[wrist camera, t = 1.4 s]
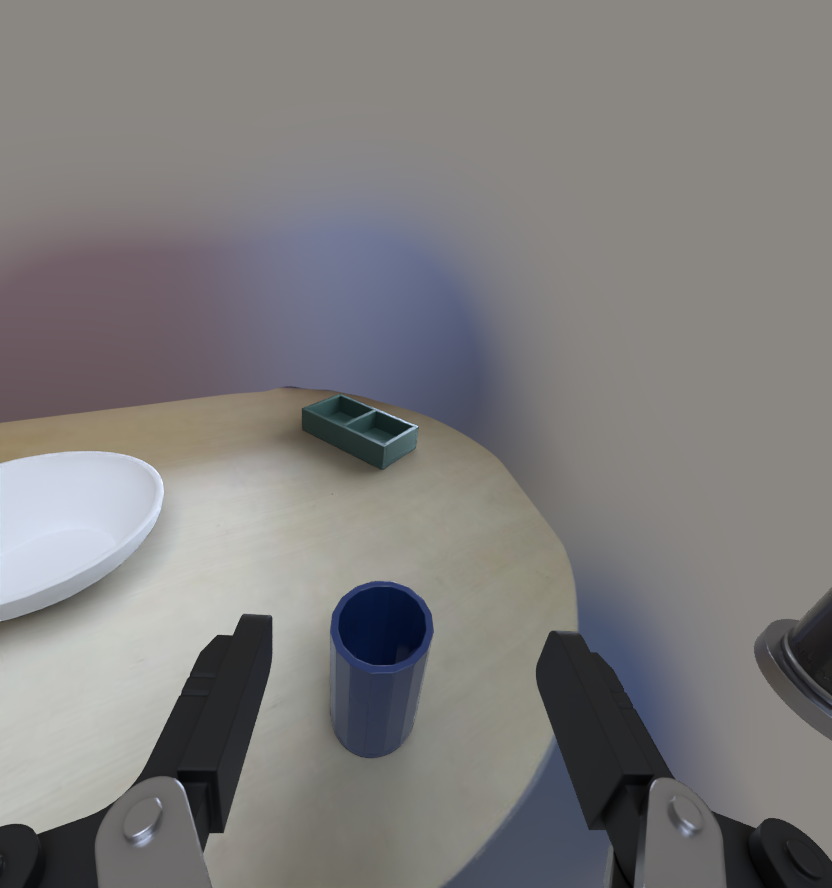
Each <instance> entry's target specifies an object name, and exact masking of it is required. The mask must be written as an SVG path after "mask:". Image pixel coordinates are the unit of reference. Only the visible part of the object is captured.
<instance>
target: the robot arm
mask: <svg viewBox="0 0 832 888" xmlns="http://www.w3.org/2000/svg"><path fill="white" fill-rule="evenodd" d="M782 649H783V652H784V655H785V657H786V659H787V660H788V662H789V664H790V665H791V667H792V668H793V669H794V671H795V672H796V673H797V674H798V676H799V677H800V678H801V679H802V680H803V681H804V682H805V683H806V684H807V685H808V686H809V687H810V688H811V689H812V690H813V691H814V692H815V693H816V694H818V695H819V696H820V697H821V698H822V699H824V700H825V701H826V702H828V703H829V704H830V705H832V588H830V589H829V591H828V592H827V593H826V594H825V595H824V596H823V597H822V598H821V599H820V600H819V601H818V602H817V603H816V604H815V605H814V606H813V607H812V608H811V609H810V610H809V611H808V612H807V613H806V615H805V616H804V617H803V618H802V619H801V620H800V621H799V622H798V623H797V624H796V625H795V626H794V627H792V628H790V629H789V630H788V631H787V632H786V633H785V634H784V636H783V638H782ZM271 662H272V616H271V615H255V614H243V615H242V616H241V618H240V620H239V622H238V625H237V627H236V629H235V632H234V634H233V636H231V635H217V636H216V637H215V638H214V639H213V640H212V641H211V642H210V643H209V644H208V645H207V646H206V647H205V648H204V649H203V650H202V651H201V652H200V654H199V656H198V658H197V660H196V663H195V665H194V667H193V669H192V671H191V673H190V677H189V678H188V679H187V681H186V683H185V685H184V687H183V689H182V693H181V695H180V696H179V698H178V700H177V702H176V704H175V706H174V708H173V710H172V712H171V714H170V716H169V718H168V720H167V722H166V724H165V727H164V729H163V731H162V733H161V735H160V737H159V739H158V741H157V743H156V745H155V747H154V749H153V751H152V753H151V755H150V757H149V760H148V762H147V764H146V766H145V767H144V769H143V771H142V773H141V774H140V776H139V777H138V778H137V780H136V781H135V782H134V783H133V785H132V786H131V787H130V788H129V789H128V790H127V791H126V792H125V793H124V794H123V795H122V796H121V797H119V798H118V799H117V800H116V801H115V802H113V803H112V804H110V805H109V806H107V807H106V808H104V809H102V810H100V811H99V812H97V813H95V814H92V815H90V816H88V817H85V818H82V819H79V820H76V821H74V822H71V823H68V824H65V825H62V826H59V827H57V828H54V829H51V830H48V831H45V832H42V833H40V834H37V835H36V833H35V832H34V830H33V829H32V828H30V827H28V826H26V825H23V824H10V825H5V826H1V827H0V888H212V885H211V882H210V878H209V874H208V871H207V867H206V864H205V860H204V856H203V852H204V849H205V846H206V843H207V839H208V836H209V833H224V829H225V826H226V822H227V819H228V815H229V812H230V808H231V805H232V802H233V798H234V795H235V791H236V788H237V784H238V781H239V777H240V774H241V770H242V767H243V763H244V760H245V757H246V753H247V750H248V746H249V743H250V739H251V736H252V732H253V729H254V725H255V722H256V719H257V715H258V712H259V708H260V705H261V701H262V698H263V694H264V691H265V687H266V684H267V681H268V677H269V673H270V668H271ZM536 680H537V685H538V689H539V692H540V695H541V697H542V700H543V703H544V706H545V709H546V711H547V714H548V717H549V720H550V722H551V725H552V728H553V731H554V734H555V736H556V739H557V742H558V745H559V748H560V750H561V753H562V756H563V759H564V762H565V764H566V767H567V770H568V773H569V775H570V778H571V781H572V784H573V787H574V789H575V792H576V795H577V798H578V800H579V803H580V806H581V809H582V812H583V815H584V817H585V820H586V823H587V826H588V828H589V830H606V831H607V834H608V836H609V839H610V841H611V844H610V847H609V849H608V855H607V862H606V868H605V875H604V883H603V888H832V861H831V860H830V859H829V858H828V856H827V855H826V854H825V853H824V852H823V850H822V849H821V848H820V847H819V846H818V845H817V844H816V843H815V842H814V841H813V840H812V839H811V838H810V837H808V836H807V835H806V834H805V833H803V832H802V831H801V830H799V829H798V828H796V827H795V826H793V825H791V824H790V823H787V822H786V821H783V820H780V819H775V818H768V819H766V820H764V821H763V822H762V823H761V824H760V825H759V826H758V827H757V828H753V827H751V826H749V825H746V824H743V823H741V822H738V821H735V820H733V819H730V818H728V817H725V816H723V815H720V814H717V813H715V812H713V811H711V810H710V809H709V807H708V806H707V805H706V803H705V802H704V801H703V800H702V799H701V798H700V797H699V796H698V795H697V794H696V793H695V792H694V791H693V790H692V789H690V788H689V787H687V786H686V785H685V784H683V783H681V782H679V781H677V780H676V779H675V778H674V777H673V775H672V774H671V772H670V771H669V768H668V767H667V765H666V763H665V761H664V760H663V758H662V756H661V754H660V753H659V751H658V749H657V747H656V745H655V744H654V742H653V740H652V739H651V736H650V735H649V733H648V731H647V729H646V727H645V726H644V724H643V722H642V721H641V719H640V717H639V715H638V713H637V712H636V710H635V709H633V704H632V703H631V701H630V699H629V697H628V696H627V694H626V693H625V692H624V688H623V686H622V685H621V683H620V681H619V680H618V678H617V676H616V674H615V672H614V670H613V669H612V668H611V667H610V666H609V665H608V664H607V663H606V662H605V661H604V659H603V658H602V657H601V656H600V655H599V654H598V653H592V652H590V650H589V649H588V647H587V645H586V643H585V641H584V639H583V637H582V636H581V635H580V634H579V633H578V632H571V631H551V632H550V633H549V635H548V637H547V640H546V643H545V645H544V648H543V650H542V653H541V655H540V658H539V660H538V663H537V667H536Z"/></svg>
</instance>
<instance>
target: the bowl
mask: <svg viewBox="0 0 832 888" xmlns="http://www.w3.org/2000/svg"><path fill="white" fill-rule="evenodd" d="M163 495H164V486H163V483H162V479H161V476H160V475H159V474H158V472H157V471H156V470H155V469H154V468H153V467H152V466H150V465H149V464H147V463H146V462H144V461H142V460H139V459H136V458H134V457H131V456H128V455H122V454H117V453H112V452H98V451H74V452H61V453H51V454H43V455H38V456H32V457H26V458H20V459H16V460H12V461H8V462H4V463H0V621H5V620H9V619H13V618H16V617H19V616H22V615H25V614H28V613H31V612H34V611H37V610H40V609H43V608H45V607H47V606H50V605H53V604H56V603H58V602H60V601H62V600H65V599H67V598H69V597H71V596H73V595H75V594H76V593H78V592H80V591H82V590H83V589H85V588H86V587H88V586H90V585H92V584H93V583H95V582H97V581H99V580H100V579H101V578H103V577H104V576H106V575H107V574H108V573H110V572H111V571H113V570H114V569H116V568H117V567H118V566H120V565H121V564H122V563H123V562H124V561H125V560H126V559H127V558H128V557H129V556H130V555H131V554H133V553H134V552H135V551H136V549H137V548H138V547H139V546H140V544H141V543H142V542H143V540H144V539H145V538H146V537H147V535H148V534H149V533H150V531H151V530H152V529H153V527H154V525H155V522H156V520H157V518H158V516H159V514H160V511H161V507H162V501H163Z"/></svg>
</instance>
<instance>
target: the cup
mask: <svg viewBox="0 0 832 888" xmlns="http://www.w3.org/2000/svg"><path fill="white" fill-rule="evenodd" d="M433 633H434V630H433V621H432V614H431V612H430V610H429V609H428V607H427V605H426V603H425V602H424V600H423V599H422V597H420V596H419V595H418V594H416V593H415V592H414V591H413V590H411V589H410V588H408V587H406V586H404V585H401V584H398V583H395V582H391V581H374V582H373V581H372V582H369V583H366V584H363V585H360V586H357V587H355V588H354V589H353V590H351V591H350V592H349V593H347V594H346V595H345V596H343V597H342V598H341V600H340V601H339V603H338V605H337V606H336V608H335V610H334V611H333V614H332V620H331V628H330V715H331V721H332V726H333V729H334V732H335V734H336V736H337V738H338V740H339V741H340V742H341V744H342V745H343V746H344V747H345V748H346V749H348V750H349V751H350V752H352V753H354V754H356V755H358V756H361V757H366V758H377V757H382V756H385V755H387V754H390V753H391V752H393V751H395V750H396V749H397V748H398V747H400V746H401V745H402V744H403V742H404V741H405V740H406V738H407V737H408V735H409V734H410V732H411V729H412V727H413V724H414V719H415V716H416V713H417V708H418V703H419V698H420V694H421V689H422V684H423V680H424V675H425V670H426V666H427V661H428V656H429V651H430V647H431V642H432V637H433Z"/></svg>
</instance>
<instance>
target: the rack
mask: <svg viewBox="0 0 832 888" xmlns="http://www.w3.org/2000/svg"><path fill="white" fill-rule="evenodd" d="M302 425H303V430H304V431H306V432H308V433H310V434H312V435H314V436H316V437H318V438H320V439H322V440H324V441H326V442H328V443H330V444H332V445H334V446H336V447H338V448H340V449H342V450H344V451H346V452H348V453H350V454H352V455H354V456H356V457H358V458H360V459H362V460H364V461H366V462H368V463H370V464H372V465H374V466H376V467H378V468H380V469H382V470H383V469H384V468H386V467H387V466H389V465H390V464H392V463H393V462H395V461H397V460H398V459H400V458H401V457H403V456H404V455H406V454H407V453H409V452H410V451H412V450H413V449H415V448H416V443H417V435H418V426H416V425H414V424H411V423H409V422H406V421H404V420H402V419H399V418H397V417H394V416H392V415H390V414H387V413H385V412H382V411H380V410H378V409H375V408H373V407H371V406H368V405H366V404H363V403H361V402H359V401H356V400H354V399H351V398H349V397H347V396H344V395H342V394H338V395H336V396H333V397H331V398H328V399H325V400H323V401H320V402H317V403H315V404H312V405H309V406H307V407H304V408H302Z"/></svg>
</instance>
